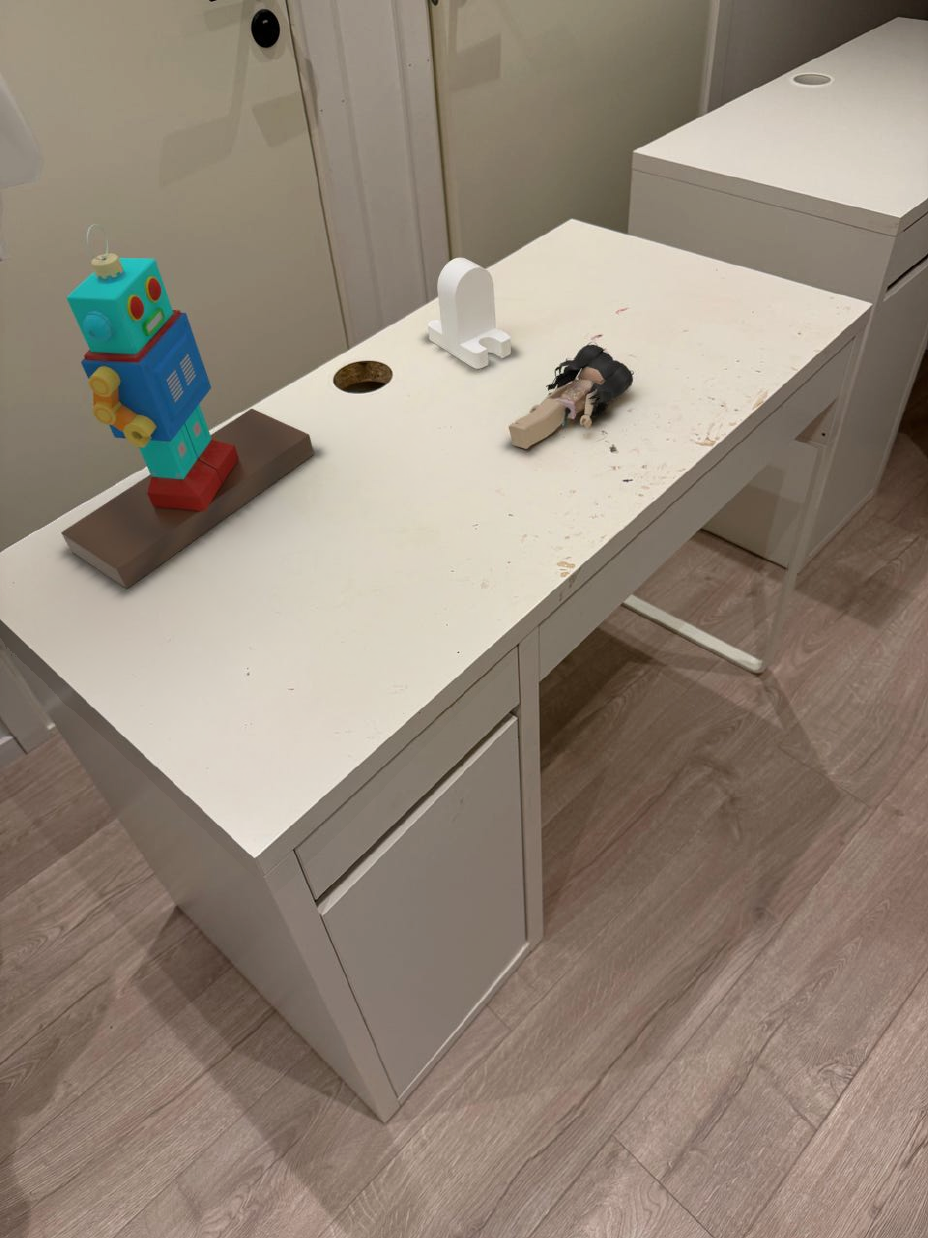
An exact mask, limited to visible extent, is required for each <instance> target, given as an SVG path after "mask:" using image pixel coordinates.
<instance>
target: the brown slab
mask: <svg viewBox="0 0 928 1238" xmlns="http://www.w3.org/2000/svg"><path fill="white" fill-rule="evenodd" d="M210 435H211V438H212V440H216V441H220V442H224V443H228V444H232V445H234V446H235V448H236V451H237V454H238V457H239V460H238V461H237V463H236V465H235V466H234V468H233V469H232V471H231V472H230V474H229V475H228V477H227V478H226V480H225V481H224V483H223V484H222V486H221V487H220V489H219V490H218V492H217V493H216V495H215V497H214V498H213V500H212V501H211V503H210V504H209V506H208V507H207V509H206V510H205V512H204V511H193V510H182V509H172V508H161V507H153V505H152V503H151V501H150V499H149V496H148V494H147V491H148V488H149V484H150V481H151V475H150V474H149V475H147V476H145V477H144V478H142V479H141V480H139V481H137V482H136V483H135V484H133V485H132V486H130V487H129V488H127V489H126V490H124V491H122V492H121V493H120V494H118V495H116V496H115V497H113V498H112V499H110V500H109V501H107V502H105V503H104V504H103V505H101V506H100V507H97V508H96V509H95V510H93V511H92V512H89V514H87V515H86V516H84V517H83V518H80V519H79V520H78V521H77V522H75V523H74V524H72V525H71V526H69V527H66V528H65V529H64V530H62V531H60V532H61V536H62V538H63V540H64V541H65V543H66V545H67V547H68V548H69V550H70V552H71V553H72V554H74V555H76V556H77V557H78V558H80V559H81V560H83V561H85V562H86V563H88V564H89V565H90V566H92V567H93V568H95V569H97V571H100V572H101V573H102V574H103V575H105V576H107V577H108V578H110V579H111V580H113V581H114V582H116V583H117V584H119V586H122V587H123V588H125V589H126V590H127V589H129V588H131V587H132V586H133V585H135V584H136V583H137V582H139V581H140V580H141V579H143V578H144V577H145V576H147V575H148V574H150V573H151V572H153V571H154V570H155V569H157V568H158V567H159V566H161V565H162V564H163V563H165V562H167V561H168V560H169V559H170V558H172V557H173V556H175V555H177V553H179V552H181V550H183V549H185V548H186V547H187V546H189V545H190V544H192V543H193V542H194V541H196V540H197V539H199V538H200V537H202V536H203V535H204V534H205V533H207V532H208V531H210V530H211V529H212V528H214V527H216V526H217V525H218V524H219V523H221V522H222V521H224V520H225V519H226V518H228V517H229V516H230V515H233V513H234V512H236V511H238V510H239V509H240V508H241V507H243V506H244V505H246V504H247V503H249V502H250V501H251V500H253V499H254V498H256V497H257V496H258V495H260V494H261V493H262V492H264V491H265V490H267V489H268V488H269V487H271V486H272V485H274V484H275V483H276V482H278V481H279V480H281V479H282V478H283V477H284V476H286V475H288V474H289V473H290V472H292V471H293V470H295V469H296V468H297V467H299V466H300V465H301V464H303V463H304V462H306V461H307V460H308V459H310V458H311V457H313V456H314V455H315V451H314V448H313V444H312V440H311V437H310V436H311V435H310V434H309V433H307V432H305V431H302V430H300V429H298V428H295V427H294V426H291V425H290V424H288V423H285V422H283V421H280V420H278V419H277V418H274V417H272V416H270V415H267V414H265V413H263V412H261V411H258V410H256V409H254V408H250V409H248V410H247V411H245V412H244V413H242V414H240V415H238V416H237V417H236V418H234V419H233V420H232V421H230V422H229V423H227V424H226V425H223V426H222V427H220V428H219V429H218V430H216V431H215V432H213V433H211V434H210Z"/></svg>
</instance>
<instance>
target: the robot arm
mask: <svg viewBox="0 0 928 1238" xmlns="http://www.w3.org/2000/svg"><path fill="white" fill-rule="evenodd" d="M43 167H44V155H43V152H42V149H41V146H40V144H39V142H38V140H37V137H36V135H35V133H34V129H33V128H32V126H31V124H30V122H29V120H28V118H27V116H26V114H25V112H24V110H23V108H22V105H21V104H20V102H19V101H18V99H17V96H16V95H15V93H14V91H13V90H12V88H11V86H10V84H9V82H8V81H7V79H6V78H5V77H4V74H3V73H2V71H0V190H3V189H7V188H10V187H15V186H20V185H24V184H29V183H32V182H36V181H37V180H38V179H39V178H40V175H41V174H42V170H43ZM3 204H4V203H3V195H2V193H1V192H0V229H1V227H2V218H3V209H4V205H3ZM7 260H10V250H9V249H8V246H7V243H6V241H5V239H4V237H3V235H2V233H1V232H0V262H2V261H7Z"/></svg>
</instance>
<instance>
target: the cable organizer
mask: <svg viewBox="0 0 928 1238" xmlns="http://www.w3.org/2000/svg"><path fill="white" fill-rule="evenodd" d="M438 275H439V276H438V279H437V283H436V284H437V285H436V286H437V288H436V289H437V291H436V292H437V299H438V307H439V318H440V320H439V319H436V318H435V319H434V320H431V321H429V322H428V323H427V332H428V337H429V341H430V342H432V343H433V344H435V345H436V346H438V347H440V348H441V349H442V350H444V351H446V352H447V353H449V354H450V355H452V356H453V357H455V358H457V359H459V360H460V361H461V362H463V363H465V364H466V365H468V366H470V367H471V368H473V369H475V370H480V369H482V368H485V367H486V366H489V365H490V364H489V353H490V354H494V355H496V356H497V357H499V358H501V359H503V358H506V357H508V356H509V355H511V354H512V347H511V336H510V335H509V334H508V333H506V332H505V331H502V330H501V329H500V328H498V327H497V321H496V306H495V304H496V303H495V291H494V290H495V289H494V280H493V276H492V274H491V273H490V271H489V270H488V269H487V268H484V266H483V267H482V266H481V265H478V264H476V263H475V262H473V261H471V260H469V259H467V258H465V257H455V258H454V259H451V260H449V261H448V262H447V263H446V264H445V265H444V267H443V268H442V269H441V271H440V273H439V274H438Z"/></svg>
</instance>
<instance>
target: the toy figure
mask: <svg viewBox="0 0 928 1238" xmlns="http://www.w3.org/2000/svg"><path fill="white" fill-rule="evenodd" d="M592 343H595V344H592ZM563 367H564V368H563ZM562 369H563V371H562ZM557 371H558V375H557ZM634 374H635V371H634V370H630V369H629V367H627V365H625V364H624V363H623V362H620V361H618V360H616V359H615V360H614V358H613V356H612V355H610V354H609V353H608V352H605V349H604V348H603V347H602V346H599V345H598V344H596V342H595V341H590V342H589V343H588V344H586V345H584V346H582V347H581V349H579V351H578V352H577V354H576V355H575V356H574V357H573V358H571V357H567V358H565V361H563V362H560V363H559V364H558V366H557V367H555V369H554V379H553V381H552V383H550V384H546V386H545V388H547V391H548V392H549V393H548V395H547V396H546V398H544V399H543V401H541V402H540V403H539V404H534V405H532V407H531V408H530V409H529V413H528V414H525V415H524V416H522V417H519V418H518V419H516V420H515V422H512V423H511V424H509V426H508V429H509V435H510V439H511V444H512V445H513V446H514V447H518V448H522V449H525V450H527V449H529V448H530V447H531V446H532V445H534V444H537V443H538V442H540V441H542V440H544V439H546V438H547V437H549V436H550V435H552V434H553V433H554V432H555V431H556V430H557V429H558V428H559V427H560V426H561V425H562V427H564V426H565V424H566V422H567V420H568V419H570V420H571V419H572V420H575V418H576V417H577V414H578V413H580V412H581V411H583V410H584V414H583V415H582V416H581V417H580V418H579V420H578V421H579V424H580V427H583V426H584V428H585V430H587V429H589V428H590V427H591V426H592V423H593V421H595V420H597V417H600V416H601V417H603V416H604V415H605V414H606V413H607V411H608V408H609V404H610V403H612V402H613V400H614V399H616V398H618V397H620V396H622V395H623V396H625V395H626V394H627V393H628V392H629V391H630V388H631V386H633V385H632V384H633V382H634V377H633V375H634ZM551 390H553V391H552V392H550V391H551ZM626 391H627V392H626ZM595 417H596V418H595ZM592 420H593V421H592Z"/></svg>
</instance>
